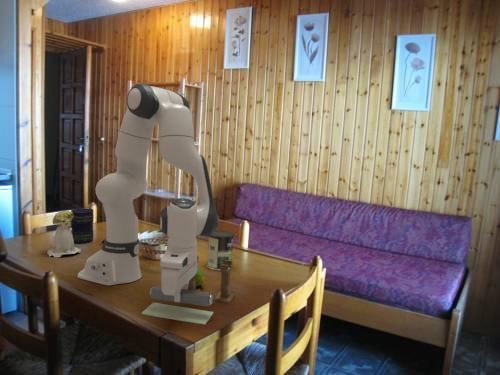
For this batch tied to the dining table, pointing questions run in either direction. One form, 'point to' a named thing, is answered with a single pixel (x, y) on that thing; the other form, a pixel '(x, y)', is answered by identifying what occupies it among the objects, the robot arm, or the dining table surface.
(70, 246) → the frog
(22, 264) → the dining table surface
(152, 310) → the mat
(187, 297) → the rail
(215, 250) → the coffee can
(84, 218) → the storage jar
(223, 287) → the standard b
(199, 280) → the corn
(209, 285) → the dining table surface
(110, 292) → the dining table surface
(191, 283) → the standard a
